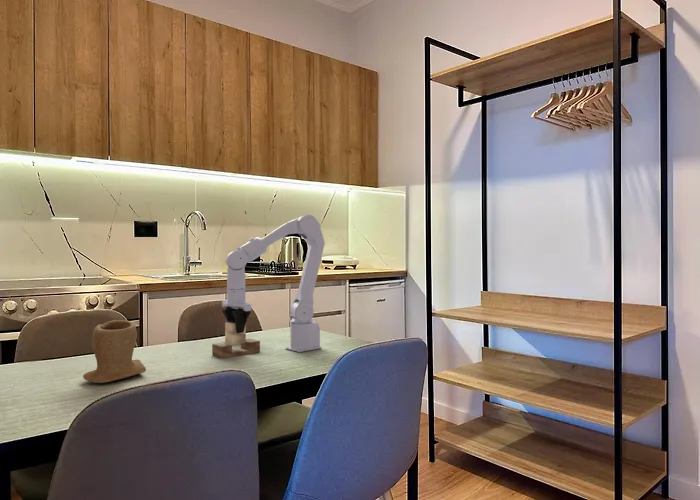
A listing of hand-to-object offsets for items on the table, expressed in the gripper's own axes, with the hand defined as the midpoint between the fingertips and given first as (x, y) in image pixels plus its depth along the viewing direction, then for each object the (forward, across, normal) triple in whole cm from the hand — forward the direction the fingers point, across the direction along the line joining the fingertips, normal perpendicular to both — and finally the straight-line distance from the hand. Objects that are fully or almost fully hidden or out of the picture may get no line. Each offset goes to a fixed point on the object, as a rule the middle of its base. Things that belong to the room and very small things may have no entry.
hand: (236, 331), depth 161 cm
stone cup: (+7, +6, -38) cm, 39 cm away
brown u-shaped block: (+7, 0, 0) cm, 7 cm away
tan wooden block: (+3, 0, 0) cm, 3 cm away
